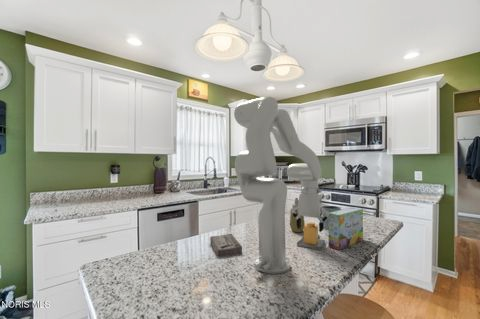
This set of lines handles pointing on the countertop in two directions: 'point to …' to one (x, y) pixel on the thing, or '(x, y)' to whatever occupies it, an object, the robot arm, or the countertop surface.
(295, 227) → the squeeze bottle
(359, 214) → the snack box
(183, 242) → the countertop surface
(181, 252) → the countertop surface
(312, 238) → the cube with dome knob
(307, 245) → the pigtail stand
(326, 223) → the green cup
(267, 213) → the robot arm
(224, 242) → the box
